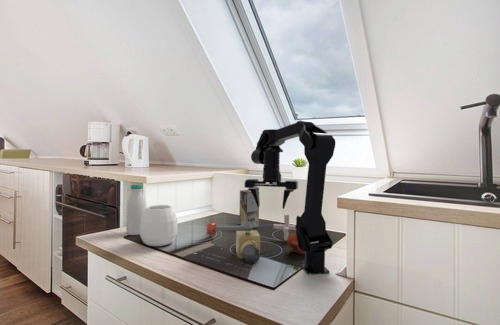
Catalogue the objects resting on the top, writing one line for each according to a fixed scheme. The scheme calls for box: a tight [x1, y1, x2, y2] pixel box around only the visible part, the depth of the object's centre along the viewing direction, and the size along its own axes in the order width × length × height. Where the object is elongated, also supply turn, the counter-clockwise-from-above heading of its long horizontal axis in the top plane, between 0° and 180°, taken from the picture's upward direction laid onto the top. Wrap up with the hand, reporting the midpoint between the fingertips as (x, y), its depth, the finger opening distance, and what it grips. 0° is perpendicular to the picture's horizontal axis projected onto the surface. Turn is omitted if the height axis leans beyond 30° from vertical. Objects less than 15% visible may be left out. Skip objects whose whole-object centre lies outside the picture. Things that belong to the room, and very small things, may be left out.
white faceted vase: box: [139, 204, 179, 247], centre depth 107 cm, size 13×13×14 cm
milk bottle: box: [125, 183, 148, 236], centre depth 120 cm, size 8×8×20 cm
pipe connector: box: [273, 213, 296, 242], centre depth 114 cm, size 10×10×10 cm
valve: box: [235, 230, 261, 265], centre depth 97 cm, size 17×7×8 cm, turn 9°
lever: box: [206, 222, 254, 236], centre depth 96 cm, size 15×3×3 cm, turn 99°
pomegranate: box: [286, 232, 305, 256], centre depth 99 cm, size 7×7×10 cm
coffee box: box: [239, 189, 260, 229], centre depth 136 cm, size 9×6×16 cm
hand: (270, 207), depth 106 cm, fingers open, 9 cm apart
